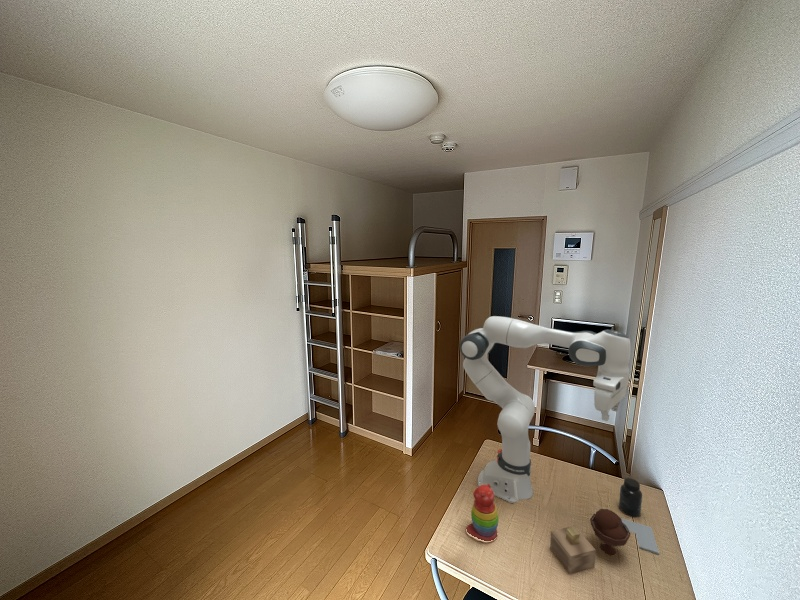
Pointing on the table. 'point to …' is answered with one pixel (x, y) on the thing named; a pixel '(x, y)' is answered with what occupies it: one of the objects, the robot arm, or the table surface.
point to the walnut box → (572, 564)
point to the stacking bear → (483, 514)
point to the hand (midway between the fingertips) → (610, 415)
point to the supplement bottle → (630, 497)
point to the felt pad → (643, 536)
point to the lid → (573, 542)
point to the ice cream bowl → (609, 530)
